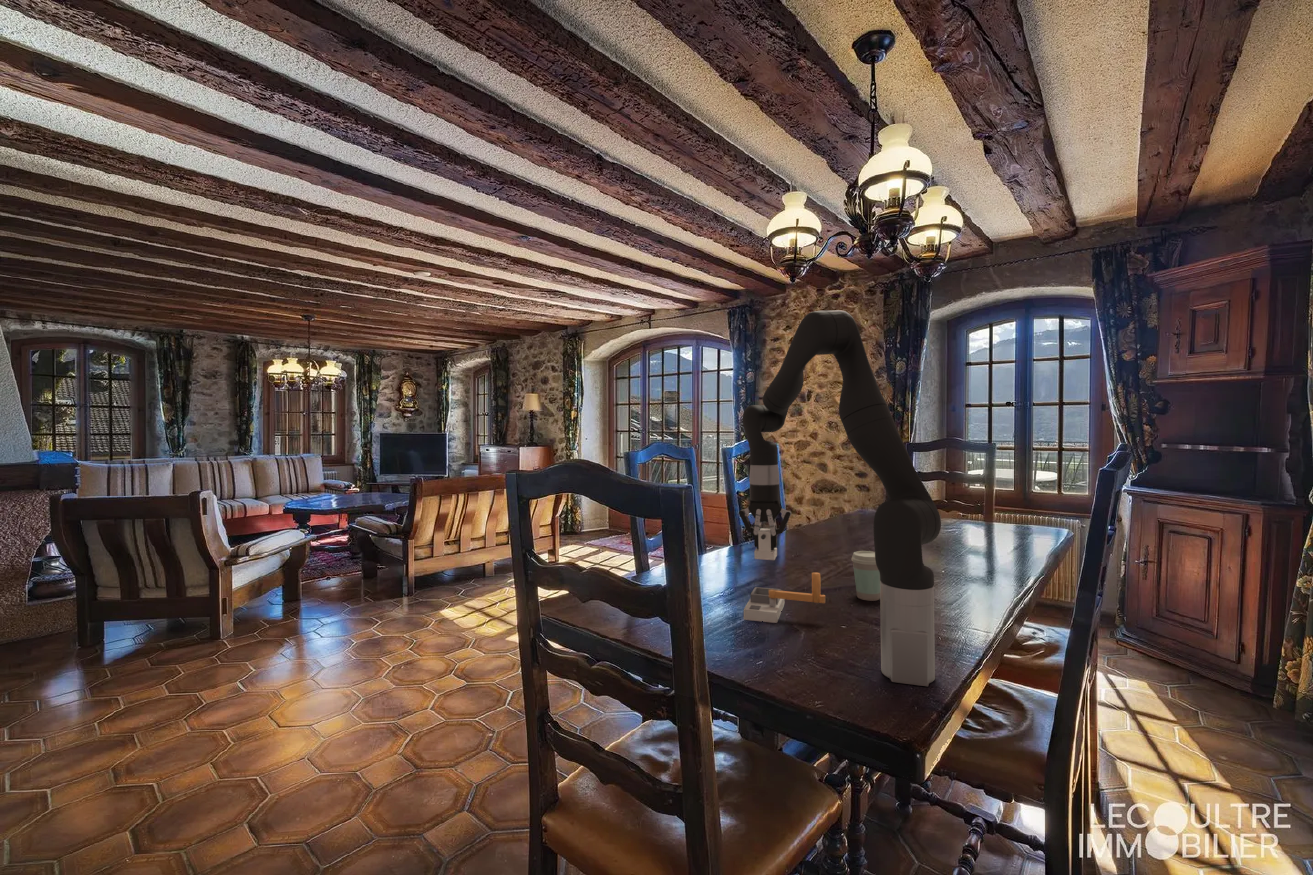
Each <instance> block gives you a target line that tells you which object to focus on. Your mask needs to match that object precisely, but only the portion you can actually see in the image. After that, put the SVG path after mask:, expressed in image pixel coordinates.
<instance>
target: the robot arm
mask: <svg viewBox="0 0 1313 875" xmlns="http://www.w3.org/2000/svg"><path fill="white" fill-rule="evenodd" d="M861 336H862V335H861V333H860V330H859V327H858V325H857V322H856V320H855V318H854V317H853V316H852V315H851V314H850V313H849V312H848V311H845V310H841V309H840V310H838V309H836V310H835V309H834V310H832V309H831V310H816V311H815V310H814V311H811V312H809V313H807V314H806V315H804V317H803V318H802V319H801V321H800V323H799V325H798V326H797V328H796V331H795V333H794V336H793V337H792V340H791V343H790V345H789V347H788V349H787V351H786V353H785V356H784V359H783V362H782V364H781V366H780V368H779V369H778V372H777V373H776V375H775V376H774V378H773V380H772V381H771V383H770V384H769V386H768V387H767V388H766V390H765V391H764V393H763V394H762V403H763V404H752V405H748V406H747V407H746V408H745V410H744V411H743V414H742V426H743V430H744V431H745V435H746V439H747V444H748V446H749V452H750V453H749V454H750V455H749V458H750V459H749V461H750V463H749V464H750V467H749V478H748V481H749V505H748V507H747V508H743V509H741V510H739V511H738V514H739V517H740V519H741V521H742V523H743V525H744V527H745V530H746V531H747V533H751V534H753V536H754V539H753V541H754V542H753V543H754V544H753V545H754V547H755V548H757V549H759V544H758V531H759V530H760V529H761V527H762V526H761V525H762V523H763V522H766V523H768V525H769V529H770V530H771V550H774V549H775V548H777V546H778V535H780V534H783V533H784V531H785V529H786V527H787V525H788V522H789V519H790V518H791V516H792V510H787V509H785V508H783V507H782V505H781V500H780V471H779V457H778V456H779V455H778V452H779V451H778V445H777V444H776V442H773V441H769V440H766V439H764V438H765V437H763V434H762V433H775V432H778V431H779V430H781V429H782V428H783V426H784V425H785V422H786V418H787V416H788V412H789V409H790V407H791V406H792V404H793V403H794V402H795V401H796V399H797V398H798V396H799V395H800V393H801V391H802V389H803V387H804V379H805V378H804V370H805V367H806V366H807V364H809V362H810V361H811V360H812V359H813V358H814V357H816V356H821V355H833V356H834V358H835V360H836V362H837V364H838V367H839V370H840V372H841V376H842V386H841V391H840V396H839V404H838V413H839V414H838V415H839V419H840V422H841V424H842V426H843V429H844V431H845V433H846V436H847V439H848V441H849V443H850V444H851V447H852V448H853V449H854V450H855V452H856V453H857V454H858V455H859V456H860V458H861V459H863V461H864V462H865V463H866V464H867V465H868V466H869V467H870V468H871V469H872V471H873V472H874V473H875V474H876V475H877V477H878V479H879V480H880V482H881V483H882V485H883V488H884V489H885V492H886V494H887V497H888V500H885V501H883V502H882V503H881V504H880V505H878V507H877V508H876V509H875V513H874V518H873V544H874V546H873V548H874V552H875V561H876V565H877V568H878V570H879V572H880V599H879V601H880V602H879V603H880V605H879V607H880V609H879V610H880V613H879V614H880V618H879V619H880V671H881V673H882V674H883V675H884V676H885V677H886V678H889V680H890V682H891V683H898V684H904V685H905V684H906V685H914V686H923V687H929V685H930V684H931V683H933V682H934V681H935V679H936V658H935V656H936V654H935V653H936V652H935V648H936V647H935V644H936V643H935V574H934V571H933V569H932V568H930V567H928V566H926V565H925V564H924V561H923V560H924V559H923V549H922V548H923V546H922V545H926V544H928V543H929V544H930V543H931V542H933V541H934V540H936V539H937V538H938V537H939V535H940V532H941V528H942V519H941V515H940V512H939V510H938V507H937V505H936V504H935V502H934V500H933V498H932V497H931V495H930V494H929V491H928V490H927V488H926V487H925V484H924V482H923V481H922V479H921V478H920V476H919V474H918V472H917V471H916V469H915V466H914V464H913V461H912V459H911V456H910V455H909V453H908V450H907V448H906V446H905V444H904V441H903V440H902V437H901V435H900V433H899V430H898V427H897V425H896V422H895V420H894V417H893V415H892V413H891V411H890V409H889V407H888V404H887V402H886V399H885V398H884V396H883V394H882V392H881V389H880V386H879V384H878V382H877V380H876V377H875V375H874V371H873V370H872V367H871V364H870V361H869V358H868V356H867V353H866V349H865V346H864V343H863V340H862V339H863V338H862V337H861ZM749 512H750V513H749ZM780 513H781V516H780V517H781V518H782V521H781V523H780V525H779V527H778V528H777V523H776V519H777V517H778V516H779V515H780ZM750 514H751V515H752V516H753V518H754V519H755V521H754V527H753V525H752V523H751V521H750V519H749V516H750Z"/></svg>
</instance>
